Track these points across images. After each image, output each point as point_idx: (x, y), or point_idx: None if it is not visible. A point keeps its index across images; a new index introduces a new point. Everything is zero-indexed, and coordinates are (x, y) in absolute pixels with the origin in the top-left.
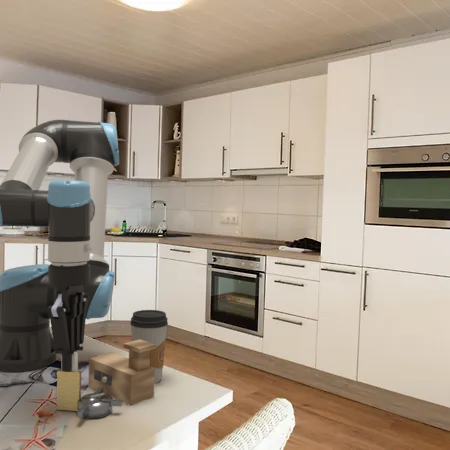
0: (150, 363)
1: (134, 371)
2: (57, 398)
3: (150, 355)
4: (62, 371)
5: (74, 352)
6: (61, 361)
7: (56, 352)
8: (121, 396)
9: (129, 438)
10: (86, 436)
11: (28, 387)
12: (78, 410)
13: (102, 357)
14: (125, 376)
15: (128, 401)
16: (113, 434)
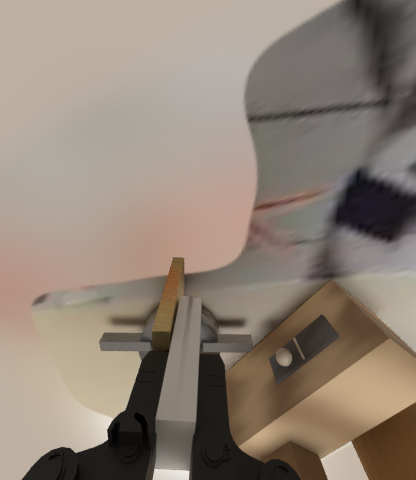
0: (354, 446)
1: (254, 455)
2: (169, 273)
3: (368, 476)
4: (153, 347)
5: (175, 462)
6: (165, 371)
7: (38, 468)
8: (241, 369)
9: (94, 396)
10: (78, 343)
11: (335, 106)
12: (154, 315)
13: (392, 370)
14: (241, 430)
15: (225, 378)
16: (99, 376)
